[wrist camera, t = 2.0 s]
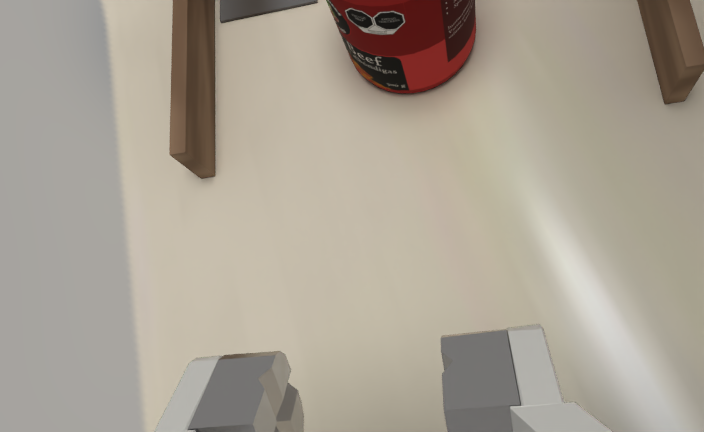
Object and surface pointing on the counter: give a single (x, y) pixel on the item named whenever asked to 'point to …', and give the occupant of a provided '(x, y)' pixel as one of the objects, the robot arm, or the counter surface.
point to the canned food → (406, 40)
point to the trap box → (236, 3)
